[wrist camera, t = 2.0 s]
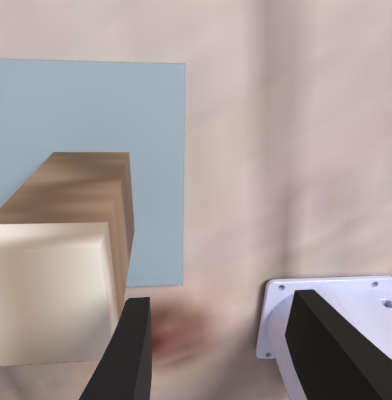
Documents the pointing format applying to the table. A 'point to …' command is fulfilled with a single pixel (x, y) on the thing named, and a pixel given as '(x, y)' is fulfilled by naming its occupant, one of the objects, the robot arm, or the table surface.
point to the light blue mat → (105, 141)
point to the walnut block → (65, 258)
